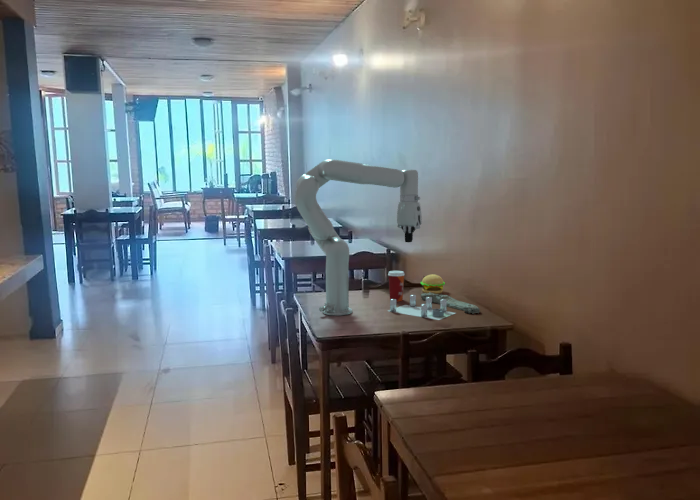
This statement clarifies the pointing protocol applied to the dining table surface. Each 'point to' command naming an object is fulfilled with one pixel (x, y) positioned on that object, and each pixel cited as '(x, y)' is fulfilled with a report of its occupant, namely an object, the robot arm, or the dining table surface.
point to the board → (419, 312)
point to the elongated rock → (452, 302)
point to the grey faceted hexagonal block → (437, 312)
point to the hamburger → (432, 284)
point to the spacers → (423, 306)
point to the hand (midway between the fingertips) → (408, 241)
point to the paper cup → (396, 285)
